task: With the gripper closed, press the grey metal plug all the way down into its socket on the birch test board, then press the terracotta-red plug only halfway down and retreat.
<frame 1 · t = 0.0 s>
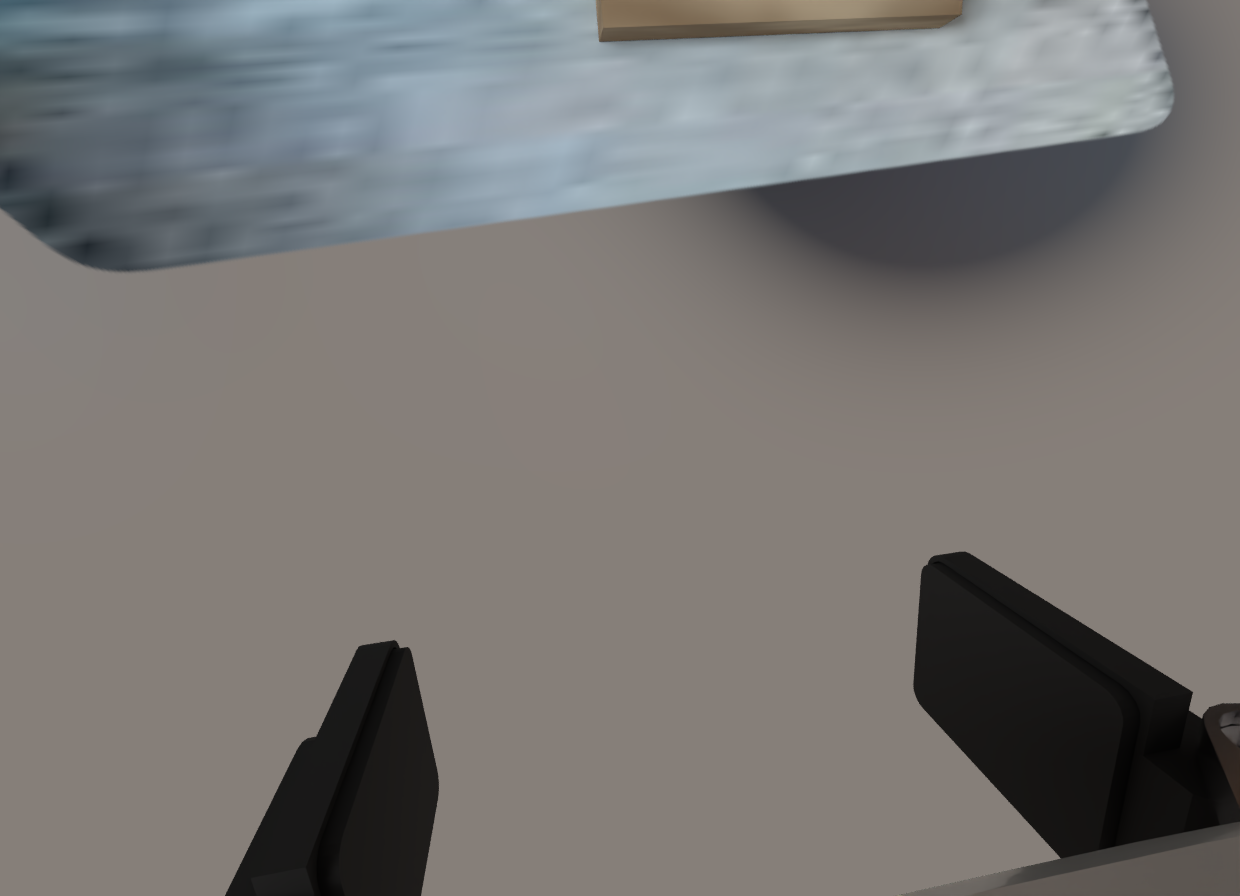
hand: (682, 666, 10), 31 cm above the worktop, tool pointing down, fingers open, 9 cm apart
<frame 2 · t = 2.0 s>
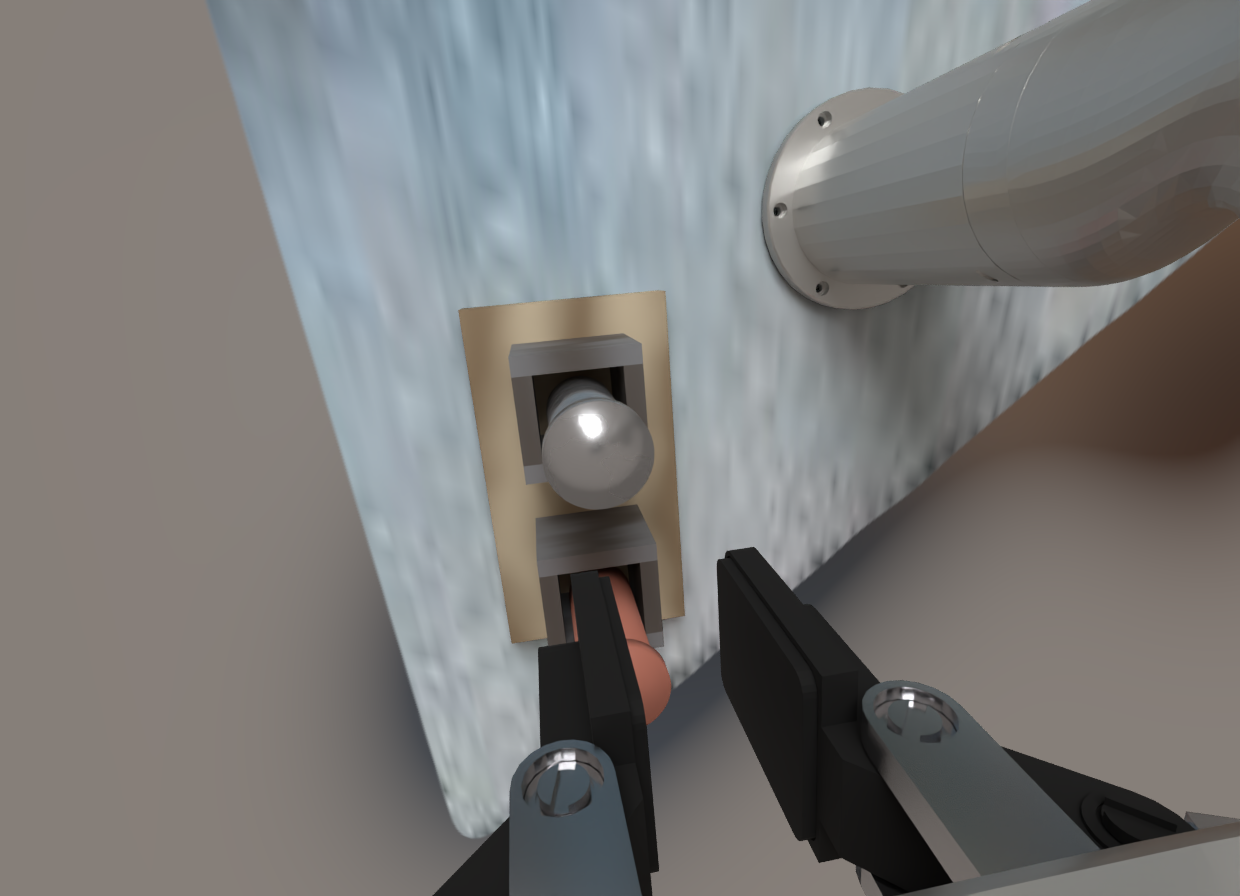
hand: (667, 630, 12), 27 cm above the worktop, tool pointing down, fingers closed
red plug: (609, 635, 30), point 11 cm above the worktop, slide at 0.0 cm
test board: (580, 469, 39), on the worktop
grey plug: (588, 429, 27), point 11 cm above the worktop, slide at 0.0 cm
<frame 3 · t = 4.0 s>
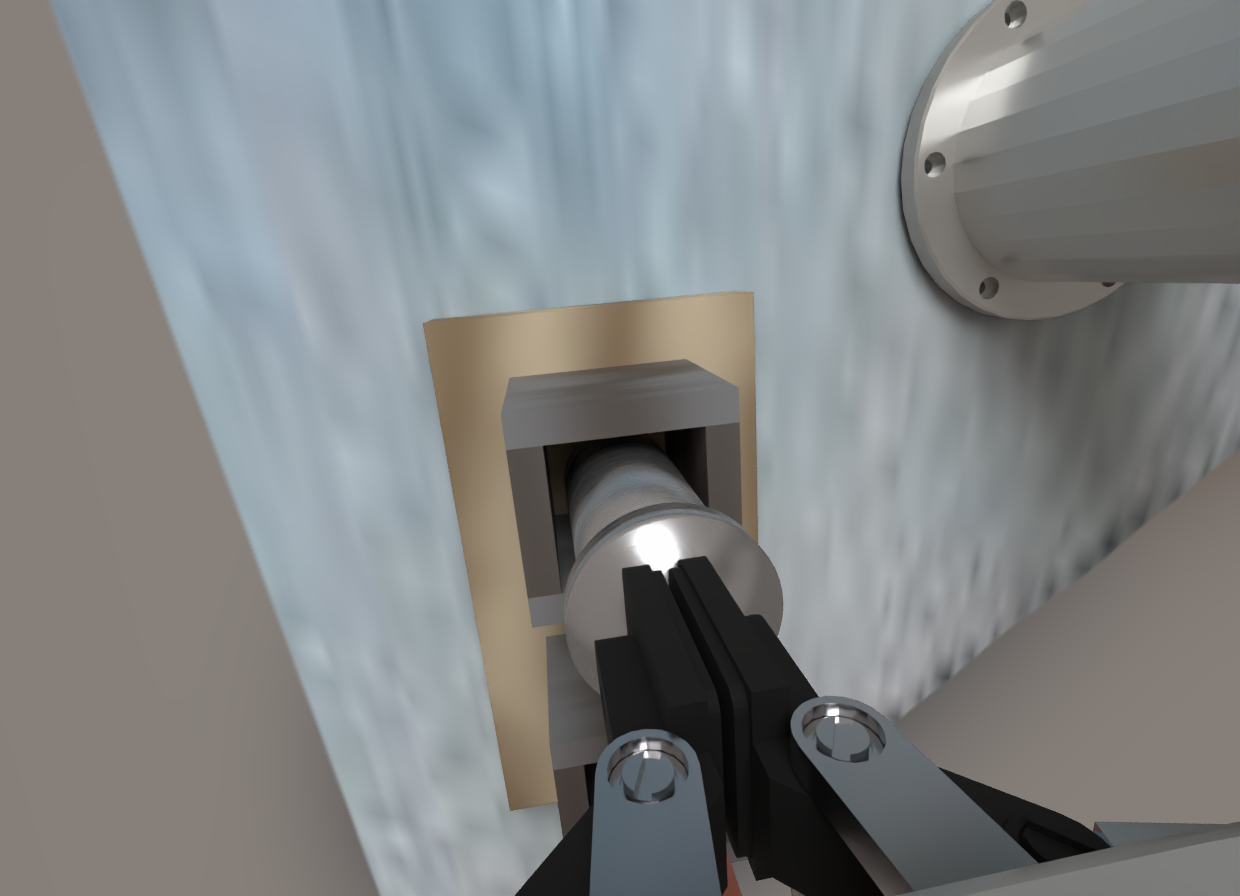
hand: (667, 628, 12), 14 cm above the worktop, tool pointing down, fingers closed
red plug: (676, 889, 17), point 11 cm above the worktop, slide at 0.0 cm
test board: (612, 556, 26), on the worktop
grey plug: (639, 529, 16), point 9 cm above the worktop, slide at 1.7 cm, touching gripper
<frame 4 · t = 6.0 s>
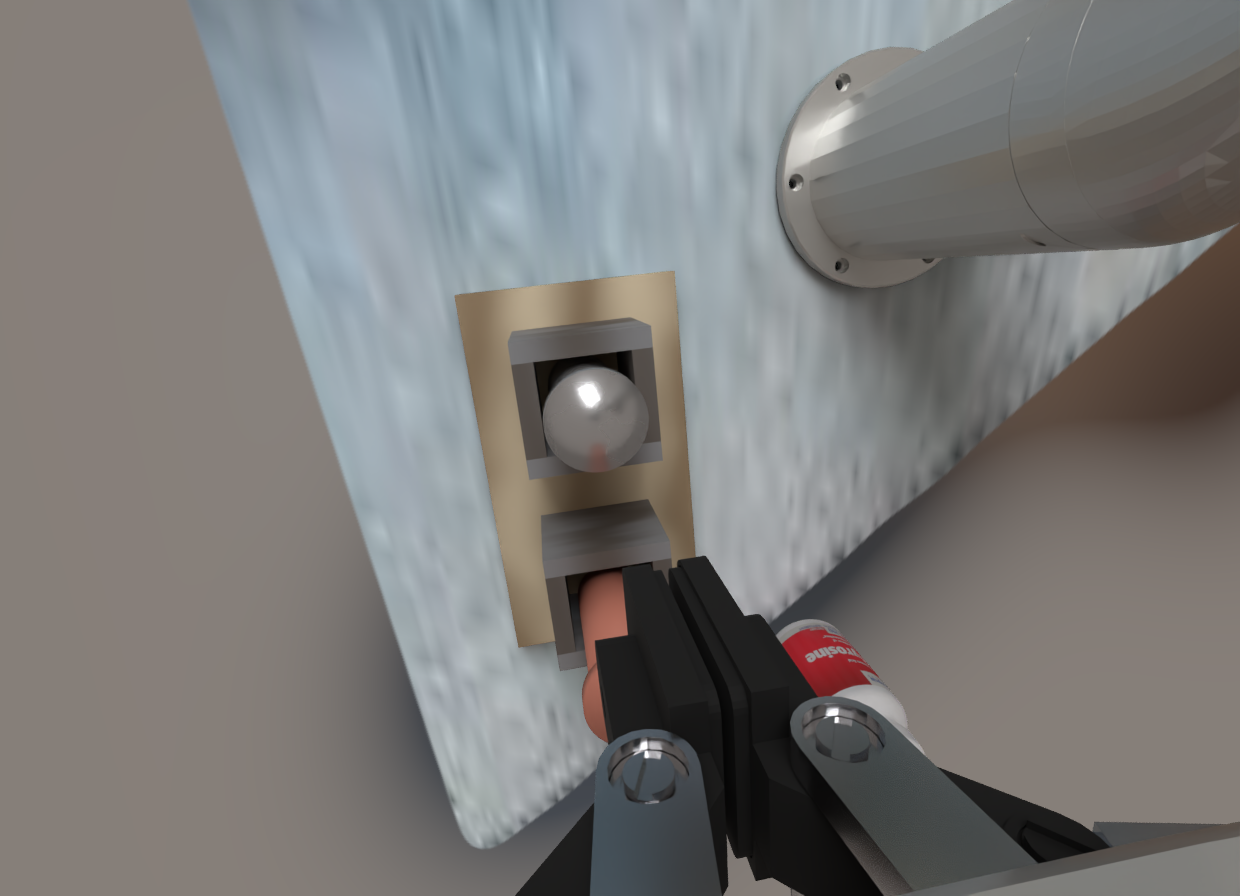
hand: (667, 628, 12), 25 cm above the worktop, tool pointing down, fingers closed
red plug: (621, 639, 28), point 11 cm above the worktop, slide at 0.0 cm
test board: (587, 463, 37), on the worktop
pill bottle: (801, 650, 44), on the worktop
grey plug: (587, 400, 28), point 7 cm above the worktop, slide at 3.8 cm
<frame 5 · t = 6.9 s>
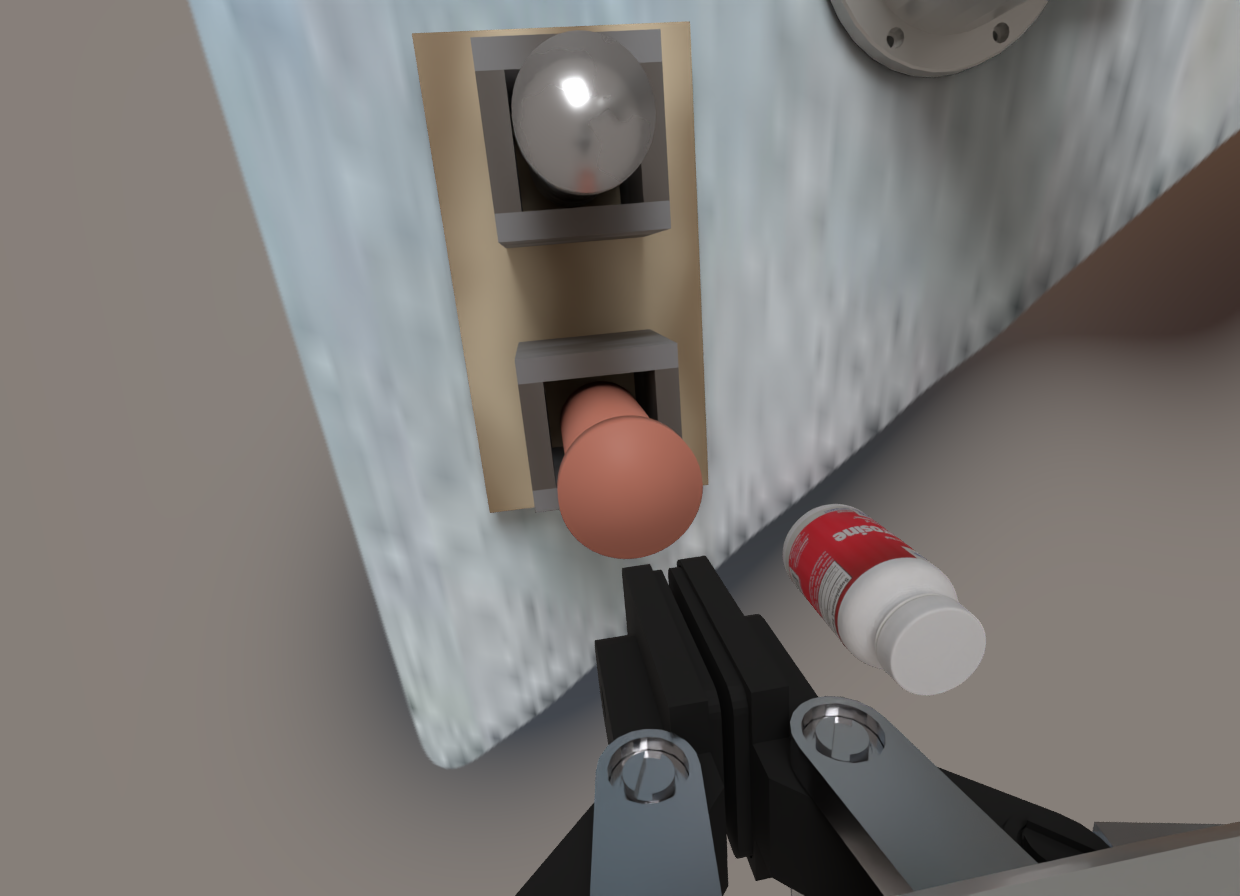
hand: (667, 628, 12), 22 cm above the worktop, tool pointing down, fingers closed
red plug: (613, 450, 22), point 11 cm above the worktop, slide at 0.0 cm
test board: (577, 288, 30), on the worktop
pill bottle: (824, 544, 37), on the worktop
grey plug: (575, 143, 22), point 7 cm above the worktop, slide at 3.8 cm
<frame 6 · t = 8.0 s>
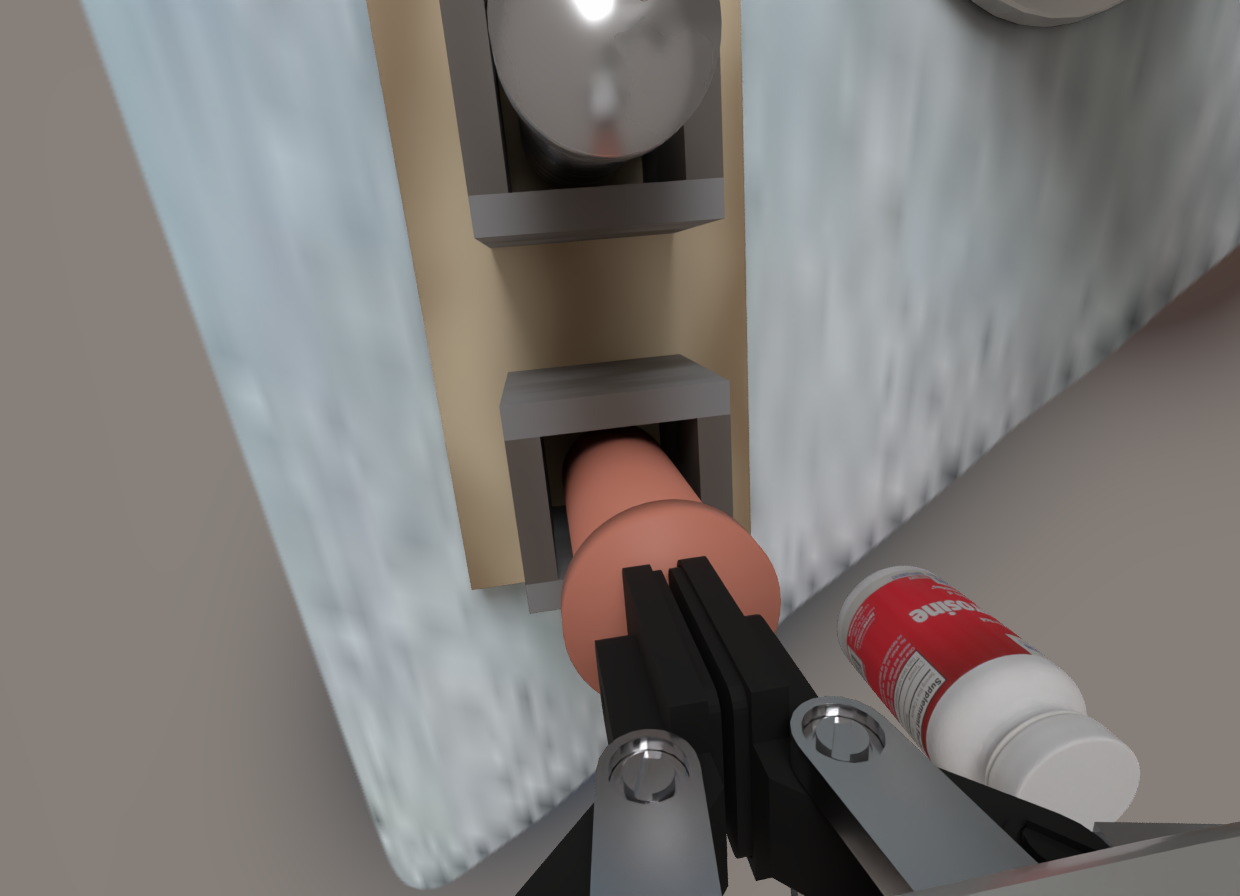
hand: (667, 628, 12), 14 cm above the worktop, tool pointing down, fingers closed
red plug: (636, 526, 16), point 10 cm above the worktop, slide at 1.0 cm, touching gripper
test board: (585, 301, 23), on the worktop
pill bottle: (886, 612, 30), on the worktop
grey plug: (587, 94, 15), point 7 cm above the worktop, slide at 3.8 cm
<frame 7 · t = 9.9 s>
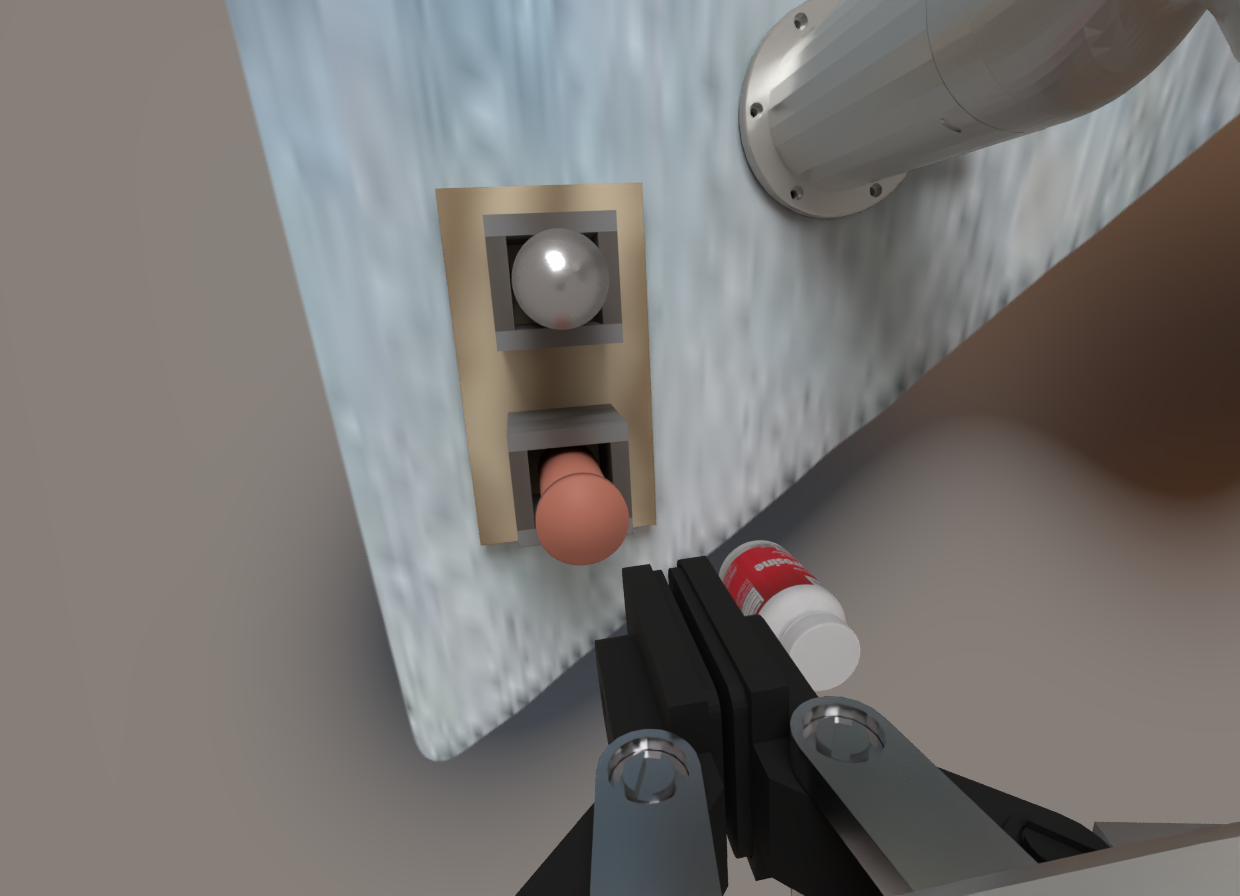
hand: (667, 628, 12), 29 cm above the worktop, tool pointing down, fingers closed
red plug: (574, 492, 32), point 9 cm above the worktop, slide at 1.8 cm
test board: (555, 369, 39), on the worktop
pill bottle: (752, 573, 46), on the worktop
grey plug: (554, 281, 31), point 7 cm above the worktop, slide at 3.8 cm
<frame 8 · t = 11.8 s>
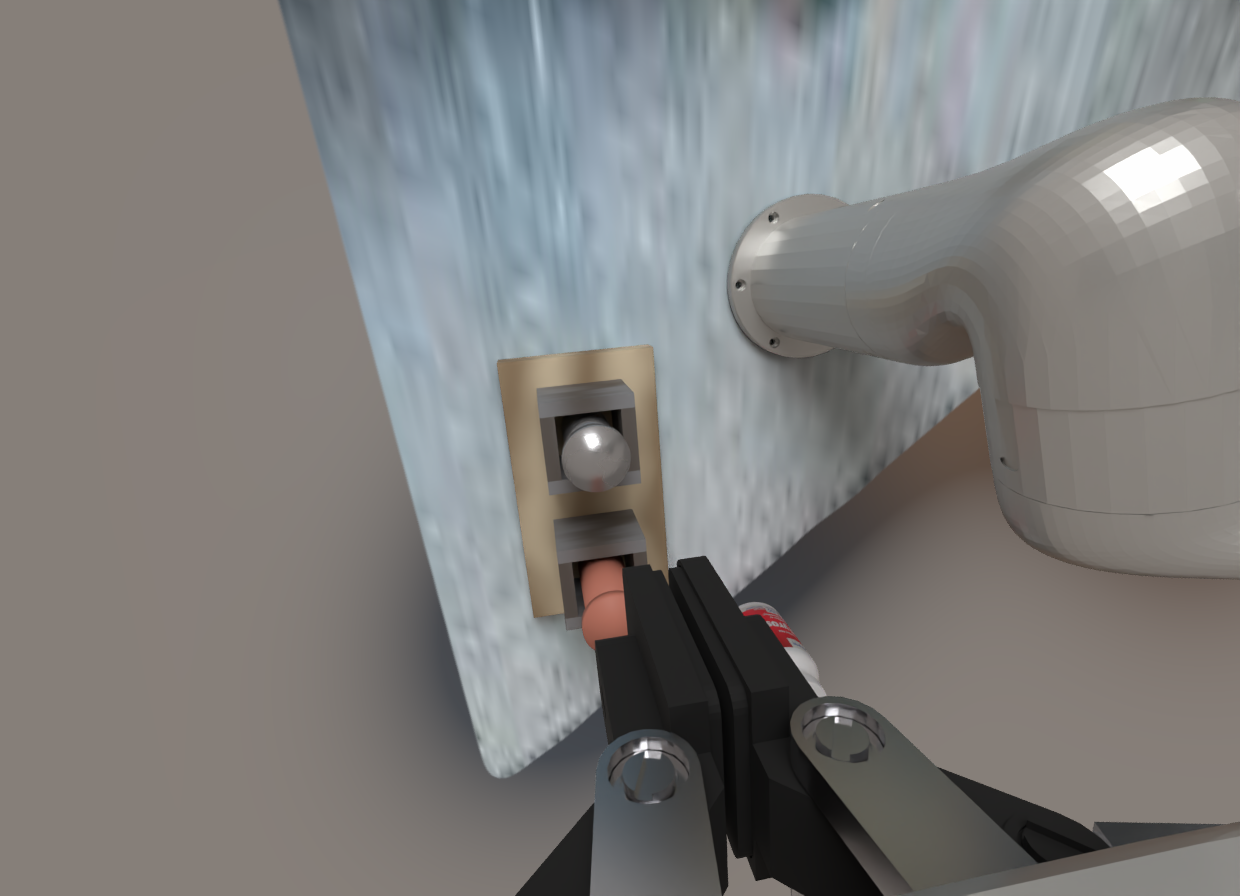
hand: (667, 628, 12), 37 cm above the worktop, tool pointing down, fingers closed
red plug: (607, 592, 43), point 9 cm above the worktop, slide at 1.8 cm
test board: (588, 481, 50), on the worktop
pill bottle: (748, 626, 57), on the worktop
grey plug: (589, 441, 41), point 7 cm above the worktop, slide at 3.8 cm
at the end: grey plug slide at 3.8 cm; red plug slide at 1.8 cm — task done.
